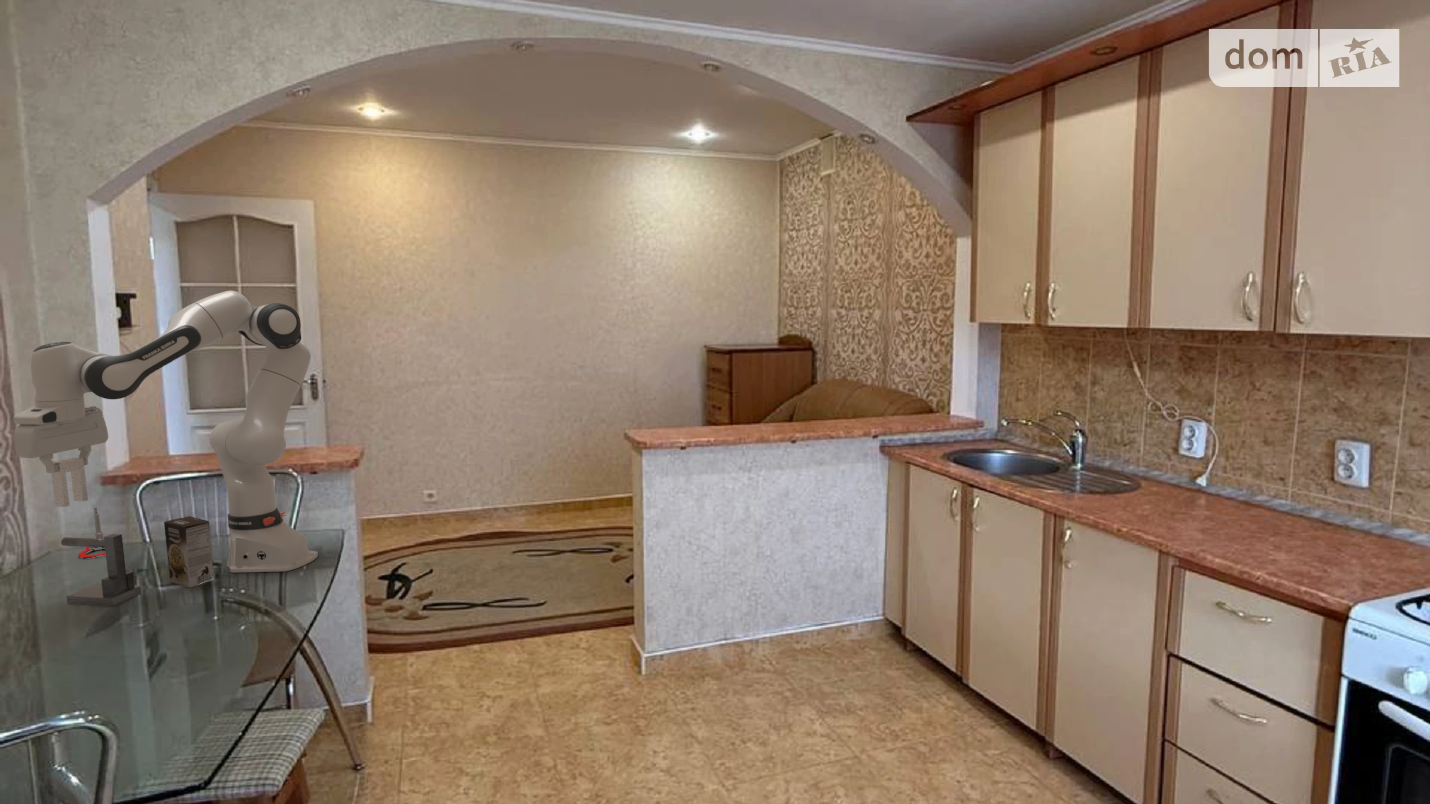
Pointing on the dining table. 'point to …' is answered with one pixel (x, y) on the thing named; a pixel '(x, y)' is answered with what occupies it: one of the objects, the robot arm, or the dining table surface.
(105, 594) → the grey hook stand
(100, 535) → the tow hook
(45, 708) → the dining table surface
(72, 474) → the beige u-shaped piece
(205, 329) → the robot arm
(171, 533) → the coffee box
